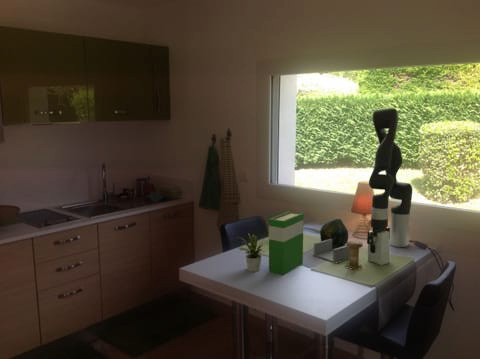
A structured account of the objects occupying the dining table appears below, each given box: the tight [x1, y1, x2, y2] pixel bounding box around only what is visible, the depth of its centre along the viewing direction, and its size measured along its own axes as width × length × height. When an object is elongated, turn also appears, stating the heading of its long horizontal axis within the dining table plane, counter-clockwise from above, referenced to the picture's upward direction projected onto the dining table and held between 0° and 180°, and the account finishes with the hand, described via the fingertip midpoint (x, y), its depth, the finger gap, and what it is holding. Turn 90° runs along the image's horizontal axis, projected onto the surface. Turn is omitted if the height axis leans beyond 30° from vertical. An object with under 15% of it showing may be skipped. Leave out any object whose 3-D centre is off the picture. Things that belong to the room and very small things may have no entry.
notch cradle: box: [313, 239, 350, 264], centre depth 208 cm, size 12×14×6 cm
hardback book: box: [268, 210, 304, 277], centre depth 192 cm, size 18×7×24 cm, turn 144°
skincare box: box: [367, 229, 390, 266], centre depth 200 cm, size 8×6×15 cm
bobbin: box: [345, 240, 364, 270], centre depth 194 cm, size 7×7×11 cm
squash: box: [319, 218, 349, 247], centre depth 226 cm, size 14×15×15 cm
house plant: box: [238, 233, 266, 272], centre depth 192 cm, size 14×14×16 cm
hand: (378, 251), depth 200 cm, fingers open, 8 cm apart
